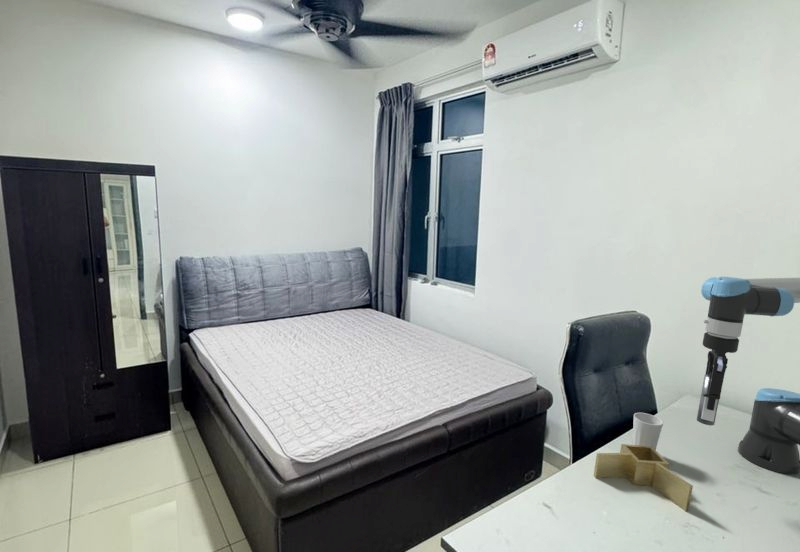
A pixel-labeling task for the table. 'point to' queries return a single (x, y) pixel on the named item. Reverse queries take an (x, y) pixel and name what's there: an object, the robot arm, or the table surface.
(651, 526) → the table surface
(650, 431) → the cup
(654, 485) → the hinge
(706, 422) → the pin
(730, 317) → the robot arm
